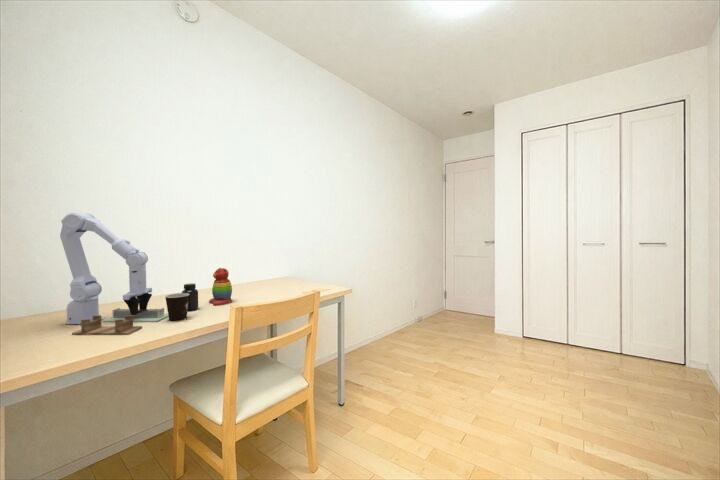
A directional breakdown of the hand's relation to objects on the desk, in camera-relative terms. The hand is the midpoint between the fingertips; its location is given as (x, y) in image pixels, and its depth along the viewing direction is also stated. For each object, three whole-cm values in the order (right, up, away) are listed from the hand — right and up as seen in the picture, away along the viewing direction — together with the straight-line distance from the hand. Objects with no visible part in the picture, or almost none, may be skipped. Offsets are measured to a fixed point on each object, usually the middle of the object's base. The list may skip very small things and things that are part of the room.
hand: (138, 312), depth 128 cm
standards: (0, -3, -16) cm, 16 cm away
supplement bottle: (+14, -2, +14) cm, 20 cm away
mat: (0, -2, 0) cm, 2 cm away
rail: (0, -2, 0) cm, 2 cm away
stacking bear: (+23, -2, +27) cm, 36 cm away
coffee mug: (+17, -3, +1) cm, 17 cm away
